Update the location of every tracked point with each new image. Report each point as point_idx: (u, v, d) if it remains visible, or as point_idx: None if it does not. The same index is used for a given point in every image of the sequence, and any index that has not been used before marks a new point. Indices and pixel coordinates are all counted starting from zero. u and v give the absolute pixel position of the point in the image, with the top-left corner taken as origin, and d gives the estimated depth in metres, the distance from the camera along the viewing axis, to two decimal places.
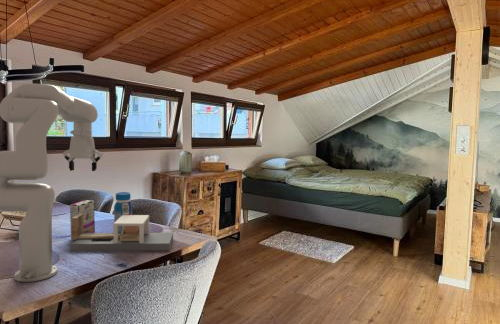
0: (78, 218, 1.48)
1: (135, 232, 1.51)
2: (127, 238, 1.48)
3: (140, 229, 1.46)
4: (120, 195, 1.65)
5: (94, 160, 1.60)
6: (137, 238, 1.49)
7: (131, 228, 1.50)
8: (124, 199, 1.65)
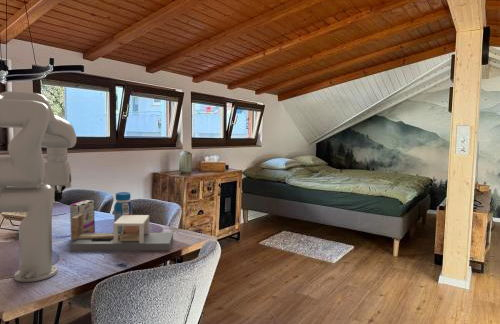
0: (78, 218, 1.48)
1: (135, 232, 1.51)
2: (127, 238, 1.48)
3: (140, 229, 1.46)
4: (120, 195, 1.65)
5: (60, 190, 1.47)
6: (137, 238, 1.49)
7: (131, 228, 1.50)
8: (124, 199, 1.65)
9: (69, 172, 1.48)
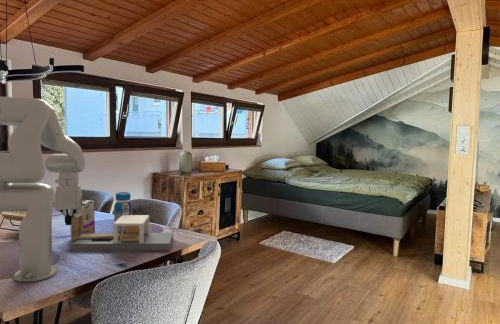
0: (78, 218, 1.48)
1: (135, 232, 1.51)
2: (127, 238, 1.48)
3: (140, 229, 1.46)
4: (120, 195, 1.65)
5: (71, 214, 1.48)
6: (137, 238, 1.49)
7: (131, 228, 1.50)
8: (124, 199, 1.65)
9: (80, 196, 1.49)
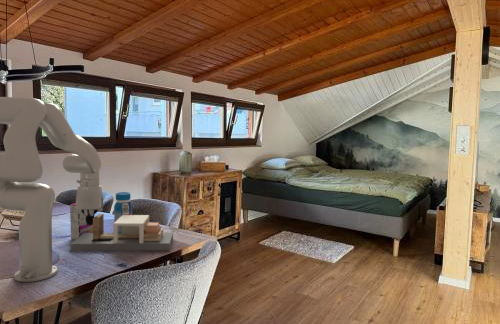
0: (99, 218, 1.49)
1: (155, 232, 1.52)
2: (148, 238, 1.49)
3: (140, 229, 1.46)
4: (120, 195, 1.65)
5: (92, 214, 1.49)
6: (158, 238, 1.50)
7: (151, 228, 1.51)
8: (124, 199, 1.65)
9: (101, 196, 1.50)
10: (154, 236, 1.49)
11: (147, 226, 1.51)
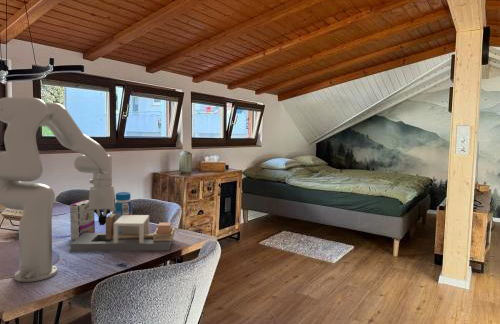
0: (112, 218, 1.50)
1: (168, 232, 1.52)
2: (160, 238, 1.50)
3: (140, 229, 1.46)
4: (120, 195, 1.65)
5: (105, 214, 1.50)
6: (170, 238, 1.50)
7: (164, 228, 1.52)
8: (124, 199, 1.65)
9: (114, 196, 1.51)
10: (166, 236, 1.50)
11: (159, 226, 1.52)
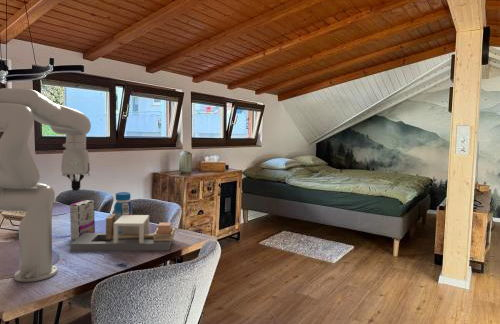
0: (112, 218, 1.50)
1: (168, 232, 1.52)
2: (160, 238, 1.50)
3: (140, 229, 1.46)
4: (120, 195, 1.65)
5: (78, 179, 1.45)
6: (170, 238, 1.50)
7: (164, 228, 1.52)
8: (124, 199, 1.65)
9: (88, 161, 1.46)
10: (167, 236, 1.50)
11: (159, 226, 1.52)
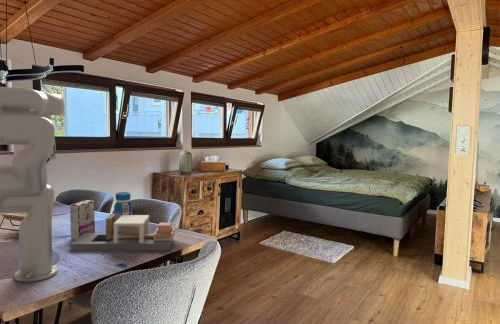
0: (112, 218, 1.50)
1: (168, 232, 1.52)
2: (160, 238, 1.50)
3: (140, 229, 1.46)
4: (120, 195, 1.65)
5: None
6: (170, 238, 1.50)
7: (164, 228, 1.52)
8: (124, 199, 1.65)
9: (53, 142, 1.36)
10: (167, 236, 1.50)
11: (159, 226, 1.52)
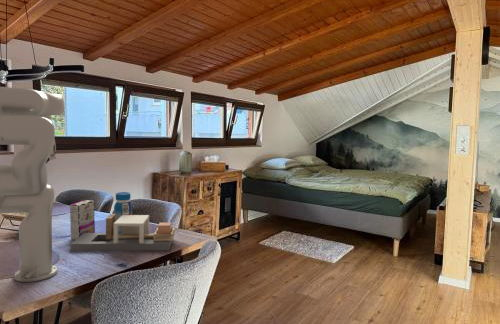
0: (112, 218, 1.50)
1: (168, 232, 1.52)
2: (160, 238, 1.50)
3: (140, 229, 1.46)
4: (120, 195, 1.65)
5: None
6: (170, 238, 1.50)
7: (164, 228, 1.52)
8: (124, 199, 1.65)
9: (53, 142, 1.36)
10: (167, 236, 1.50)
11: (159, 226, 1.52)
